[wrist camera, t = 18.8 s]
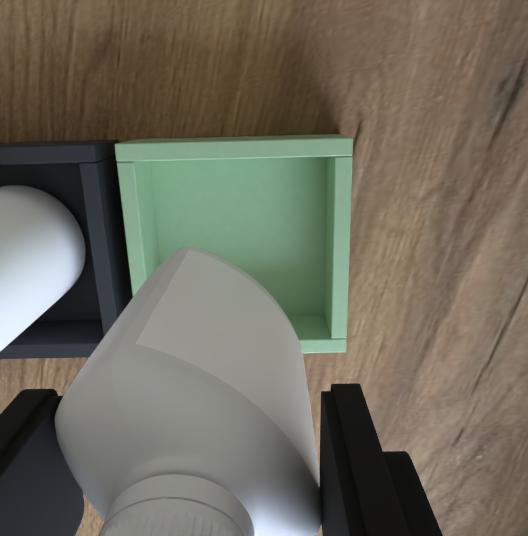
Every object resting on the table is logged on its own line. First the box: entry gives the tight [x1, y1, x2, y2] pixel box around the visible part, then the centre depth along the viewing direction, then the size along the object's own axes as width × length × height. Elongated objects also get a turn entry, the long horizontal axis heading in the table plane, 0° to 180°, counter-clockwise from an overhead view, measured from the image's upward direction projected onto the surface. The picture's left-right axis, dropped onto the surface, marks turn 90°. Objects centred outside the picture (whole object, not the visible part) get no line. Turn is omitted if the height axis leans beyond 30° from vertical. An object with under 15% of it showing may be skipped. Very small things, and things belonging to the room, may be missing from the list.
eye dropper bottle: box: [54, 247, 322, 536], centre depth 10 cm, size 4×6×12 cm
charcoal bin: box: [0, 140, 133, 359], centre depth 24 cm, size 11×11×4 cm
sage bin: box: [114, 134, 353, 353], centre depth 24 cm, size 11×11×4 cm
